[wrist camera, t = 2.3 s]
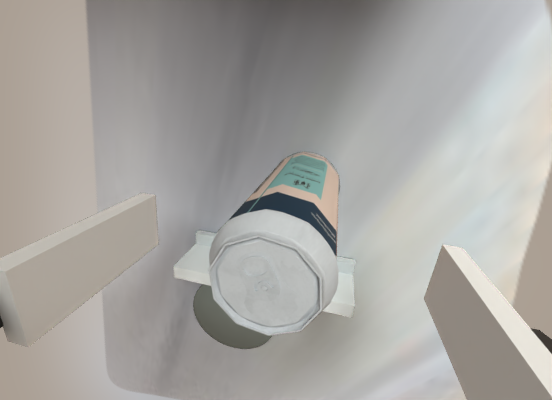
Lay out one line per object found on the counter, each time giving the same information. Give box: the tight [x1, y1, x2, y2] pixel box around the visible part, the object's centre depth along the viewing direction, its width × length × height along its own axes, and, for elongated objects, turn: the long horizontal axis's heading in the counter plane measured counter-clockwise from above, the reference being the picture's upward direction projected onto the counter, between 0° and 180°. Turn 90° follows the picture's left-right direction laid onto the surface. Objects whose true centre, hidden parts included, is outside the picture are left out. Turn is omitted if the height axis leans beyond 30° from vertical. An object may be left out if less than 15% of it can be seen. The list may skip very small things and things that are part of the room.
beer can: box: [208, 152, 340, 336], centre depth 15 cm, size 5×5×12 cm
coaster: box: [193, 284, 272, 349], centre depth 26 cm, size 8×8×1 cm
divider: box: [173, 230, 355, 318], centre depth 21 cm, size 3×13×4 cm, turn 85°
